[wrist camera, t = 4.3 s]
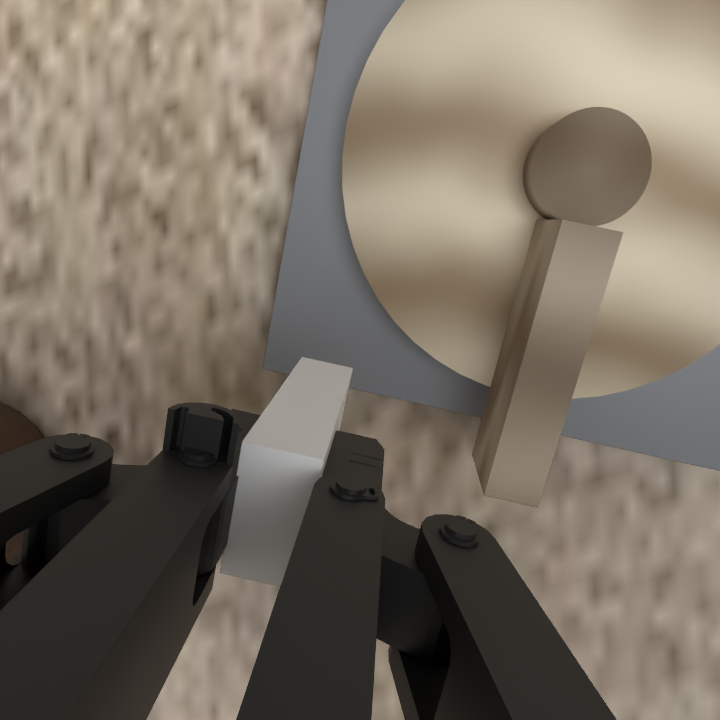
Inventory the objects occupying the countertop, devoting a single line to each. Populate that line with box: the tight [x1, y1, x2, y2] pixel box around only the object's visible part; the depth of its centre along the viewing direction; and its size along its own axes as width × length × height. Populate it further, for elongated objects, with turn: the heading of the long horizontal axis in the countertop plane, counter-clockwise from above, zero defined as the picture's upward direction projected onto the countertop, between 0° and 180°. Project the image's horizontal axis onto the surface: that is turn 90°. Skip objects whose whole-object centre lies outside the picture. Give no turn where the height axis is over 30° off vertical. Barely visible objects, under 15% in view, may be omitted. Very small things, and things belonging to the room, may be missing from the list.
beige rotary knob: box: [342, 0, 720, 508], centre depth 22 cm, size 21×18×6 cm
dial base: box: [263, 0, 720, 471], centre depth 25 cm, size 22×22×4 cm
